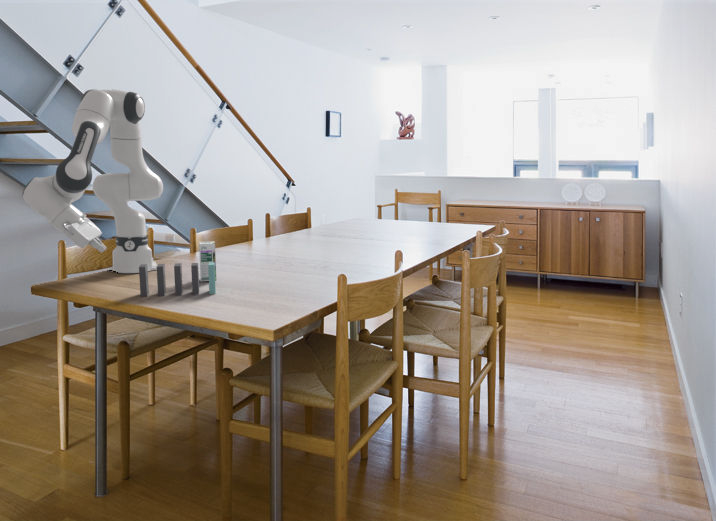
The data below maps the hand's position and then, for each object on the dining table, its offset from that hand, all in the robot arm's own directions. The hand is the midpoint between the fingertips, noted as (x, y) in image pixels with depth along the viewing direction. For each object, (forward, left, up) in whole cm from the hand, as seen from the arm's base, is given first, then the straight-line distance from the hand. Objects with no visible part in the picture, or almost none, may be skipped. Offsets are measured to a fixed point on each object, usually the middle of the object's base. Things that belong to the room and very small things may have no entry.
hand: (104, 250), depth 186 cm
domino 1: (0, +12, -15) cm, 19 cm away
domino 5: (0, +34, -15) cm, 37 cm away
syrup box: (-20, +32, -16) cm, 41 cm away
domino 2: (0, +17, -15) cm, 23 cm away
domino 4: (0, +28, -15) cm, 32 cm away
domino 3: (0, +23, -15) cm, 27 cm away
